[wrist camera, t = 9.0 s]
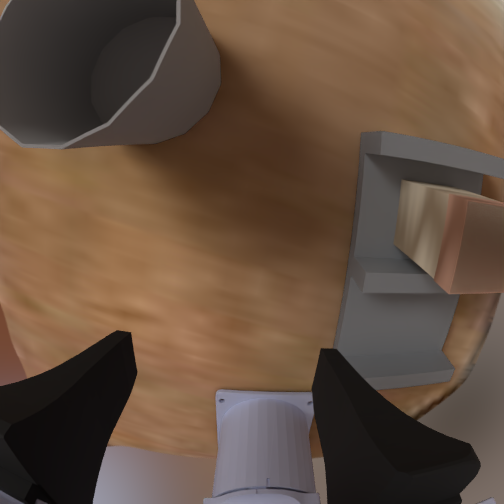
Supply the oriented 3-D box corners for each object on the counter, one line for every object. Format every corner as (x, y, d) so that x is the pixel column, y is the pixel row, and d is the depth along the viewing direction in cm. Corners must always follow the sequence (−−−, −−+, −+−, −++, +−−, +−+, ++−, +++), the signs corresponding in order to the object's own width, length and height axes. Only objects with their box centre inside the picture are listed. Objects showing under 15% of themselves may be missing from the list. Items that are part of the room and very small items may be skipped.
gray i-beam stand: (431, 355, 22) (449, 381, 19) (330, 361, 22) (339, 392, 19) (476, 155, 17) (507, 160, 14) (360, 132, 17) (381, 131, 14)
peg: (445, 247, 18) (508, 292, 12) (392, 244, 18) (448, 294, 12) (454, 186, 17) (527, 210, 10) (400, 178, 17) (467, 200, 10)
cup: (72, 104, 17) (-39, 95, 7) (143, 1, 15) (68, -74, 5) (169, 169, 18) (85, 196, 9) (250, 57, 16) (239, -23, 7)
